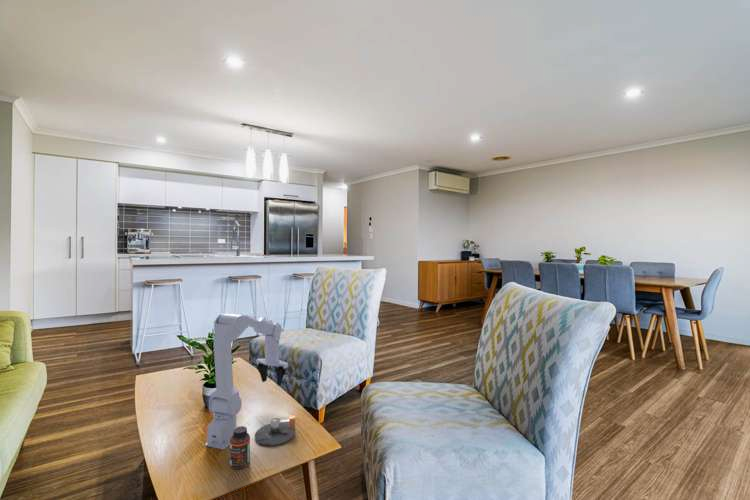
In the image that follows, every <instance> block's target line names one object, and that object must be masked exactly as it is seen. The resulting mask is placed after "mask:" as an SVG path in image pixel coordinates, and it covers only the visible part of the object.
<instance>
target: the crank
mask: <svg viewBox="0 0 750 500" xmlns="http://www.w3.org/2000/svg"><path fill="white" fill-rule="evenodd" d="M270 424H271V433H272V434H277V433H279V432H280V429H285V428H295V429H296V415H289V419H288V418H287V419H286V418H285V419H281V418H279V417H274V418H271V420H270Z"/></svg>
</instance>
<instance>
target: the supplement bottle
mask: <svg viewBox="0 0 750 500" xmlns="http://www.w3.org/2000/svg"><path fill="white" fill-rule="evenodd" d="M250 461H251V435H250V433H248V427H247V426H244V425H239V426H236V428H235V429H234V431H233V436H232V437H231V439H230V445H229V466H230V468H231V469H233V470H241V469H245V468H246V467H247V466H249V464H250V463H251V462H250Z"/></svg>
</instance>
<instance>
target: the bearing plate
mask: <svg viewBox="0 0 750 500" xmlns="http://www.w3.org/2000/svg"><path fill="white" fill-rule="evenodd" d="M295 435H296V427H295V428H285V429H280V432H279V433H277V434H272V433H271V423H268V424H265V425H262V426H261V427H260V428H258V429H257V430H256V431H255V433H254V440H255V443H257V444H258V445H260V446H263V447H276V446H277V447H278V446H281V445H284V444H287V443H288V442H290V441H291V440H293V438H294V437H295Z"/></svg>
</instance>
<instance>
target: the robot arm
mask: <svg viewBox="0 0 750 500" xmlns="http://www.w3.org/2000/svg"><path fill="white" fill-rule="evenodd" d="M248 328H252V329H253V331H254V332H255V333H258V334H261V335H262V336H263V337H264V358H257V359H256V362H255V363H256V365H257V366H256V369H257V371H258V372H259V375H260V378H261V382H262V383H265V382H267V380H268V368H269V367H270V366H271V367H275V370H274V371H275V374H276V384H277V385H278V386H280V385H281V384H282V383H283V378H284V376H285V373H286V371H287V369H288V368H289V362H286V361H283V360H281V359H280V340H281V334H282V332H283V328H282V325H281V324H280V323H278V322H273V320H271V319H270V320H268V319H267V317H264V316H263V317H259V318H253V317H251V316H249V315H246V314H235V313H225V312H221V313H220V314H218V316H217V317H216V319H214V321H213V333H214V336H213V355H214V370H215V371H214V374H215V389H214V390H213V391H212V392H211V393H210V394H209V397H210V398H209V402H208V410H209V411H210V412H211V413H212V416H213V418H212V421H211V422H209V423H208V425H207V427H206V428H207V429H206V442H205V444H204V445H205V447H206V446H207V447H210V448H214V449H220V450H226V449H227V448H228V447H230V439H231V437H232V436H233V431H234V429H235V428H237V415H238V414H239V413H240V411H241V410H242V409H241V408H242V402H243V401H242V399H241V397H240V392H239V391H238V390H237V388H236V387H235V386H234V376H233V373H234V372H233V358H232V356H233V355H232V343H233V342H234V341H236V340H237V339H238V338H239V337H240V336H241V335H242V334H243V333H244V332H245V330H246V329H248ZM276 367H277V368H276Z"/></svg>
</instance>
